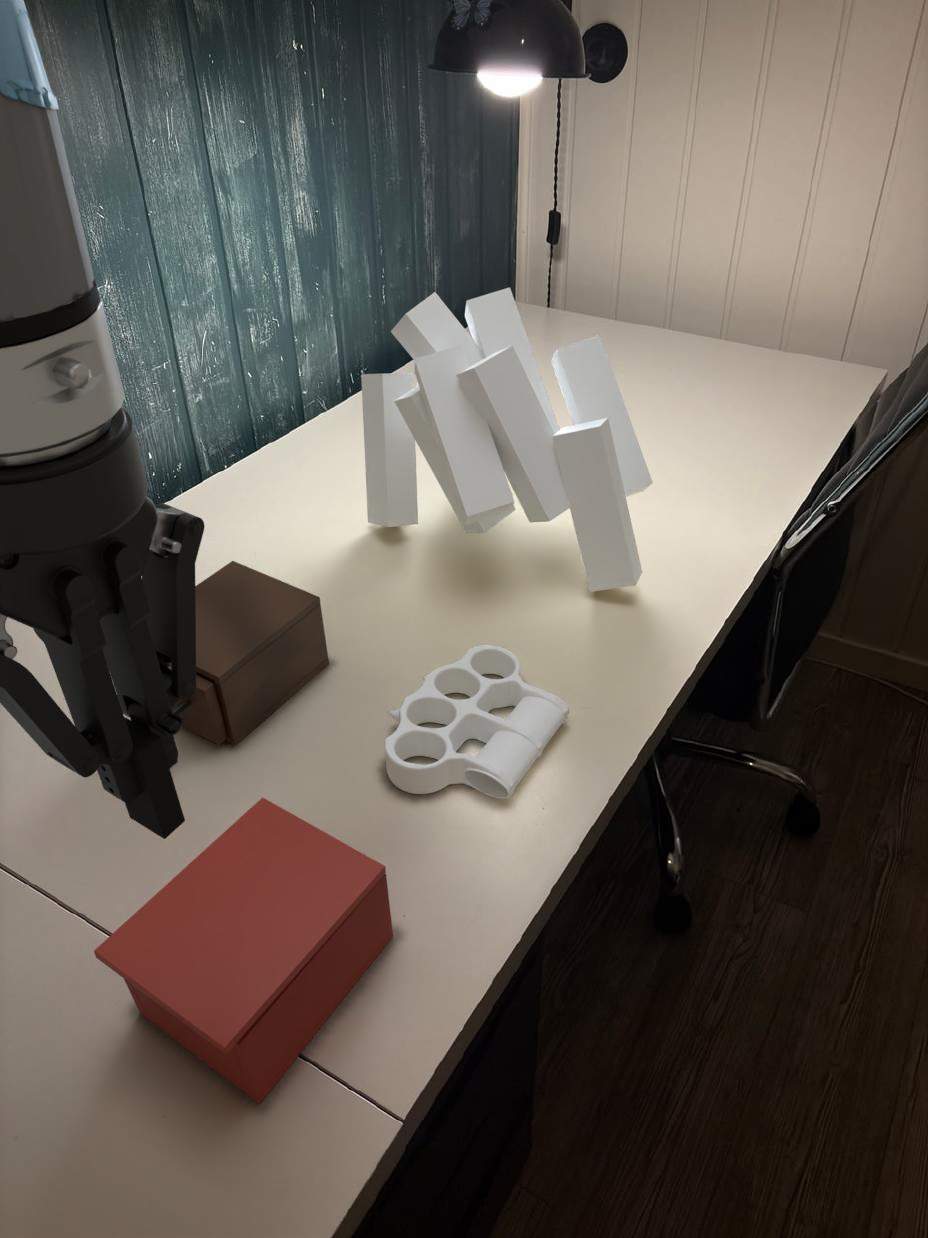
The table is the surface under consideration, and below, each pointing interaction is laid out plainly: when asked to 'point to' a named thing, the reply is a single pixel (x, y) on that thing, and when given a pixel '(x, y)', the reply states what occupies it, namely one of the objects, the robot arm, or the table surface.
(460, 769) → the white brass knuckles
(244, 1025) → the lid
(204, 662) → the cabinet
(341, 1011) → the table surface
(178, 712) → the drawer
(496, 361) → the pile of blocks
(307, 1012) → the chest
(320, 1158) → the table surface
